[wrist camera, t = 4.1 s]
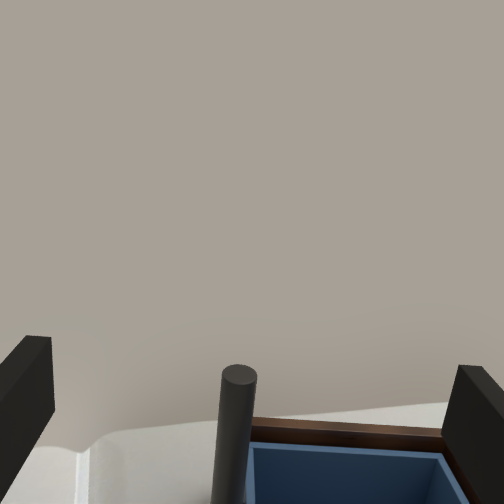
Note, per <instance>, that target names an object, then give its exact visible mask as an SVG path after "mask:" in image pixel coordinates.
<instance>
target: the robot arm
mask: <svg viewBox="0 0 504 504" xmlns="http://www.w3.org/2000/svg"><path fill="white" fill-rule="evenodd" d="M54 412H55V400H54V381H53V362H52V342H51V337H42V336H28V335H27V336H25V337H24V338H23V340H22V341H21V342H20V343H19V344H18V345H17V346H16V347H15V349H14V350H13V351H12V352H11V353H10V354H9V355H8V356H7V357H6V358H5V360H4V361H3V362H2V363H1V364H0V503H1V501H2V500H3V498H4V496H5V495H6V493H7V491H8V490H9V488H10V486H11V484H12V483H13V481H14V479H15V478H16V476H17V474H18V473H19V471H20V469H21V468H22V466H23V464H24V462H25V461H26V459H27V457H28V456H29V454H30V452H31V451H32V449H33V447H34V445H35V444H36V442H37V440H38V439H39V437H40V435H41V433H42V432H43V430H44V428H45V427H46V425H47V423H48V422H49V420H50V418H51V417H52V415H53V413H54ZM440 434H441V436H442V437H443V439H444V441H445V442H446V444H447V446H448V447H449V449H450V451H451V452H452V454H453V456H454V457H455V459H456V461H457V462H458V464H459V466H460V467H461V469H462V471H463V472H464V474H465V476H466V478H467V479H468V481H469V483H470V484H471V486H472V488H473V489H474V491H475V493H476V494H477V496H478V498H479V499H480V501H481V503H482V504H504V391H503V390H502V388H501V387H499V385H498V384H497V383H496V382H495V381H494V380H493V379H492V377H491V376H490V375H489V374H488V373H487V372H486V371H485V370H484V368H483V367H482V366H470V365H459V366H458V370H457V374H456V377H455V381H454V385H453V389H452V392H451V396H450V400H449V403H448V407H447V411H446V415H445V418H444V422H443V426H442V430H441V433H440Z"/></svg>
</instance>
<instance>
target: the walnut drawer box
mask: <svg viewBox="0 0 504 504" xmlns="http://www.w3.org/2000/svg"><path fill="white" fill-rule="evenodd" d="M441 430H442V429H439V428H423V427H407V426H391V425H375V424H359V423H343V422H327V421H311V420H295V419H280V418H264V417H253V419H252V427H251V436H250V442H261V443H278V444H295V445H312V446H328V447H345V448H362V449H378V450H395V451H412V452H428V453H441V454H442V455H443V457H444V459H445V461H446V463H447V464H448V466H449V468H450V470H451V471H452V473H453V475H454V477H455V479H456V480H457V482H458V484H459V486H460V487H461V489H462V491H463V493H464V495H465V496H466V498H467V500H468V502H469V504H482V503H481V501H480V499H479V498H478V496H477V494H476V493H475V491H474V489H473V488H472V486H471V484H470V483H469V481H468V479H467V478H466V476H465V474H464V472H463V471H462V469H461V467H460V466H459V464H458V462H457V461H456V459H455V457H454V456H453V454H452V452H451V451H450V449H449V447H448V446H447V444H446V442H445V441H444V439H443V437H442V436H441V434H440V433H441Z"/></svg>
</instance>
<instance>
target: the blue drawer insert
mask: <svg viewBox="0 0 504 504" xmlns="http://www.w3.org/2000/svg"><path fill="white" fill-rule="evenodd" d="M256 384H257V374H256V371H255V370H254V369H252V368H250V367H248V366H246V365H239V364H236V365H230V366H228V367H226V368H225V369H224V370H223V372H222V379H221V391H220V403H219V416H218V426H217V438H216V450H215V461H214V473H213V485H212V496H211V504H469V502H468V500H467V498H466V496H465V495H464V493H463V491H462V489H461V487H460V486H459V484H458V482H457V480H456V479H455V477H454V475H453V473H452V471H451V470H450V468H449V466H448V464H447V463H446V461H445V459H444V457H443V455H442V454H441V453H428V452H412V451H395V450H378V449H362V448H345V447H328V446H312V445H295V444H278V443H261V442H250V436H251V427H252V419H253V410H254V401H255V392H256Z"/></svg>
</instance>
